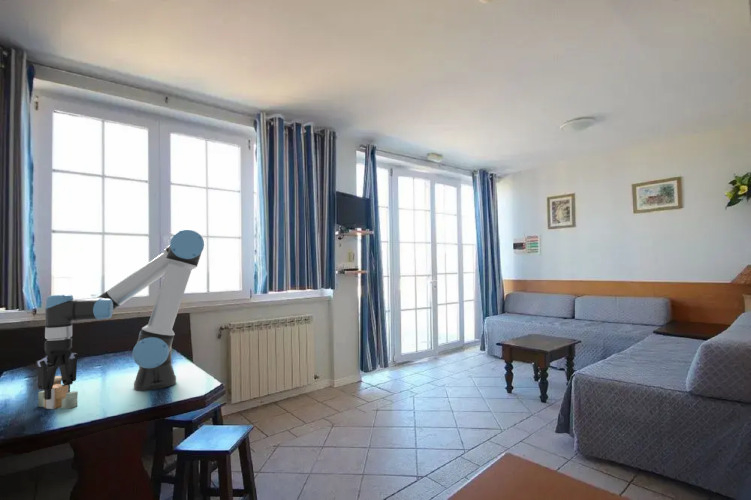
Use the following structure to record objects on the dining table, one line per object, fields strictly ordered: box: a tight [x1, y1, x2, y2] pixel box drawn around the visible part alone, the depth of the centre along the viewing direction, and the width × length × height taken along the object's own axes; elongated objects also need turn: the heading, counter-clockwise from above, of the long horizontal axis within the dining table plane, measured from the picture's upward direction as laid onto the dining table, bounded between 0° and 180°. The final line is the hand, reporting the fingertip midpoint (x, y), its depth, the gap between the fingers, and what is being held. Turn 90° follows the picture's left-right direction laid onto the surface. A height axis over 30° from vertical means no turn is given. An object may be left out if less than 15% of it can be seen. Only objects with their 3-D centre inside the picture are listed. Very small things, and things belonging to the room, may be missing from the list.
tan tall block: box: [44, 383, 68, 410], centre depth 138 cm, size 5×4×7 cm
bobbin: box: [53, 375, 62, 385], centre depth 145 cm, size 7×7×8 cm
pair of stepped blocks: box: [37, 390, 78, 409], centre depth 138 cm, size 14×2×5 cm, turn 77°
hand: (57, 405), depth 137 cm, fingers open, 4 cm apart
